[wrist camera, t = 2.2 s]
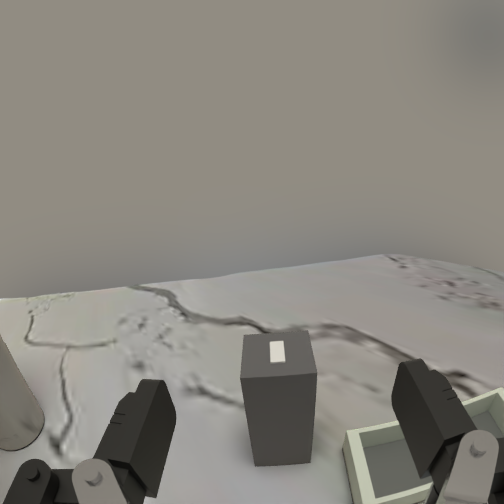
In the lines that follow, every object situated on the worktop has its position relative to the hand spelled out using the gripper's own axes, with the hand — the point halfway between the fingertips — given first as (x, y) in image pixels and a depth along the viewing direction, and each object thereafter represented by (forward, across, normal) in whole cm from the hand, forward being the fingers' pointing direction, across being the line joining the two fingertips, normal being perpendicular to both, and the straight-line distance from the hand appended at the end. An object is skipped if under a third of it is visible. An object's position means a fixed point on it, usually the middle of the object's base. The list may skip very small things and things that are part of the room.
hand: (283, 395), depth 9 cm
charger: (+10, 0, +18) cm, 21 cm away
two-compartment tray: (+10, -14, +18) cm, 25 cm away
